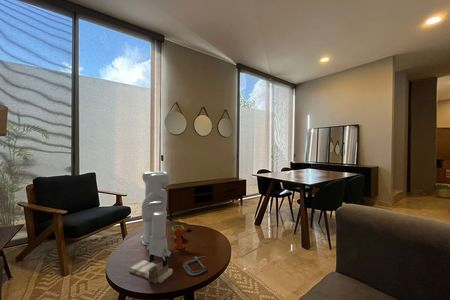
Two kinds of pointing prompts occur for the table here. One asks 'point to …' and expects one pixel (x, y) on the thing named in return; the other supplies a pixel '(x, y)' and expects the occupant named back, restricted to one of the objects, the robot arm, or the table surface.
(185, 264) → the c clamp
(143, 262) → the board
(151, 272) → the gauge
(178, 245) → the toy drill
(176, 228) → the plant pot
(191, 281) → the table surface
